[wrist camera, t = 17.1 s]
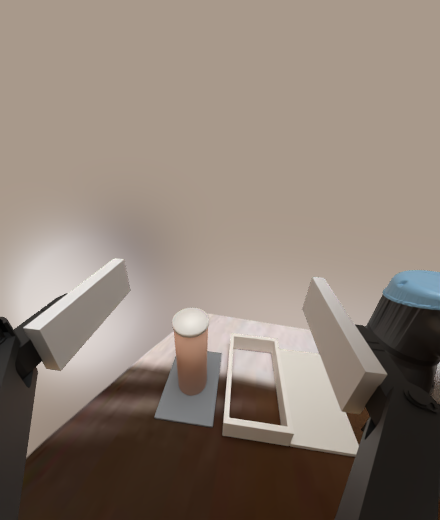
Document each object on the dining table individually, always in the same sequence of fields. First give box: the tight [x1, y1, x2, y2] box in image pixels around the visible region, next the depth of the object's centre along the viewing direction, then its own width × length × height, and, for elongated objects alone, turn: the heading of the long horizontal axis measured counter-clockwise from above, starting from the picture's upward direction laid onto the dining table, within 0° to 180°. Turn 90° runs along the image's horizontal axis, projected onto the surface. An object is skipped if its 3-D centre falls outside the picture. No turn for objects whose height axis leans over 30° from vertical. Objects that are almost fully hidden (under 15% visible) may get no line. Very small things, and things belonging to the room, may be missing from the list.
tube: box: [172, 308, 209, 396], centre depth 36 cm, size 6×6×16 cm
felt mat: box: [154, 351, 222, 428], centre depth 39 cm, size 10×14×1 cm
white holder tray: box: [222, 333, 359, 457], centre depth 38 cm, size 21×18×4 cm
